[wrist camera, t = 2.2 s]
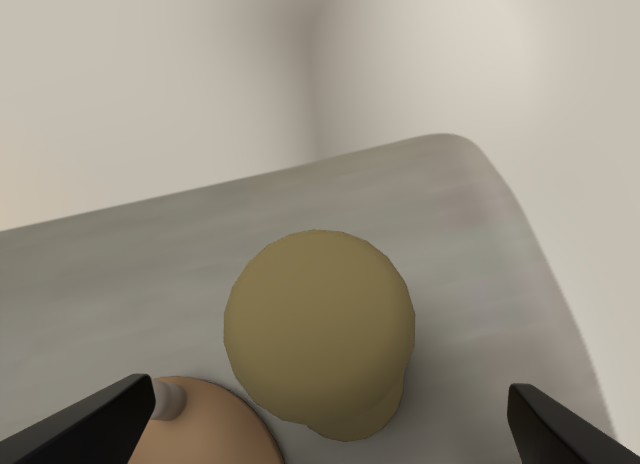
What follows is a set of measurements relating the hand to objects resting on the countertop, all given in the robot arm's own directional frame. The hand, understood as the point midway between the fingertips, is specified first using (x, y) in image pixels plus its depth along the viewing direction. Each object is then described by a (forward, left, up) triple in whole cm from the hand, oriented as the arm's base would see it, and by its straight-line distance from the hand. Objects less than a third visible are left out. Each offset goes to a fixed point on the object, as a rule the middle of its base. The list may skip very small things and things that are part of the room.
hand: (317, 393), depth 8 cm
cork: (+2, 0, -10) cm, 10 cm away
